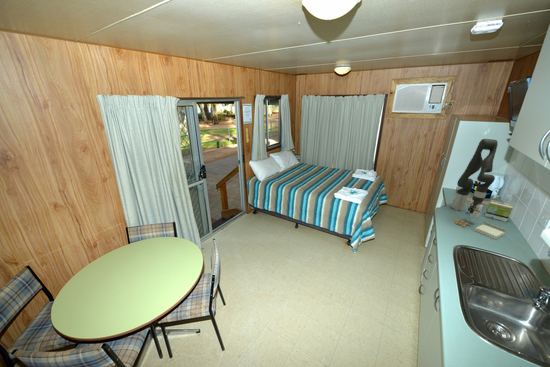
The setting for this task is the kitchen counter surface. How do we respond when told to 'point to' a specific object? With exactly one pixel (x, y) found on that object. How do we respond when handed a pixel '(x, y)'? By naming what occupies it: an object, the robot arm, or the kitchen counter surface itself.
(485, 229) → the dock
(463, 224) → the pallet
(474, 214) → the ink box
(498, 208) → the tea box
